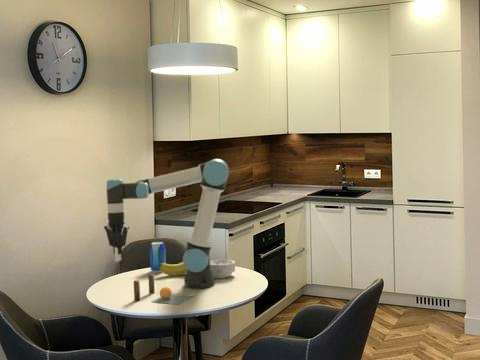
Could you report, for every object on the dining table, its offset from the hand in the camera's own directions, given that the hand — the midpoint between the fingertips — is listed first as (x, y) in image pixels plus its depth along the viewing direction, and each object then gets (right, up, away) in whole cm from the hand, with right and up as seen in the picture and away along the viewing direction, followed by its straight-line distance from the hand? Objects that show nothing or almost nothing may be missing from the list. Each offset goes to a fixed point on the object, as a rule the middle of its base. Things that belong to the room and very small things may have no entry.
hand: (118, 260), depth 287 cm
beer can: (+13, -13, +47) cm, 50 cm away
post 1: (+11, -17, -10) cm, 22 cm away
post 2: (+16, -16, +1) cm, 22 cm away
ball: (+24, -14, -9) cm, 29 cm away
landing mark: (+27, -16, -10) cm, 33 cm away
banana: (+26, -13, +37) cm, 47 cm away
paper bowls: (+48, -13, +30) cm, 58 cm away
